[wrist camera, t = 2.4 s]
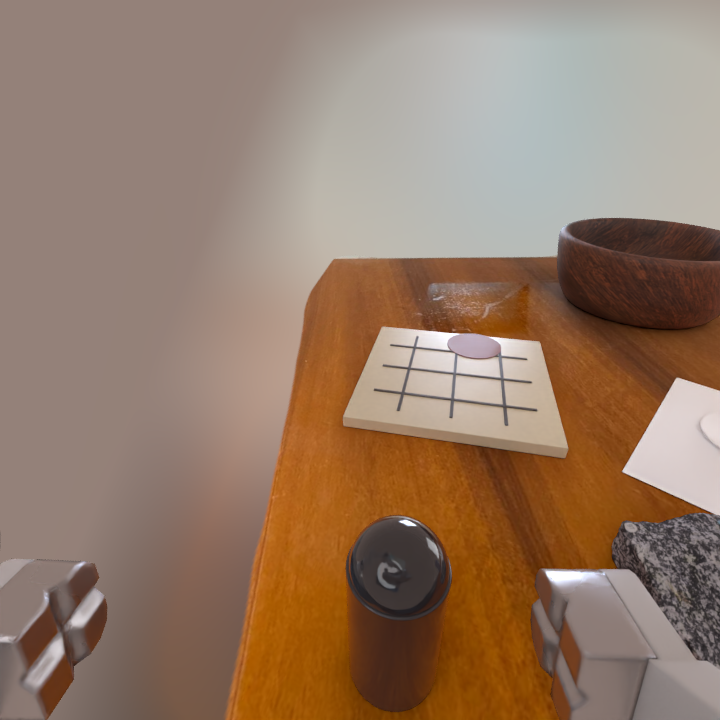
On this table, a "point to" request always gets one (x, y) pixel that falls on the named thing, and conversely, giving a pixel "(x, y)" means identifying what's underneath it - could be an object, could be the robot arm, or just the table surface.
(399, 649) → the dome-topped canister
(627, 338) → the table surface
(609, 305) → the wooden bowl
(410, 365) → the board
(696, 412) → the teacup and saucer
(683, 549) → the rock
